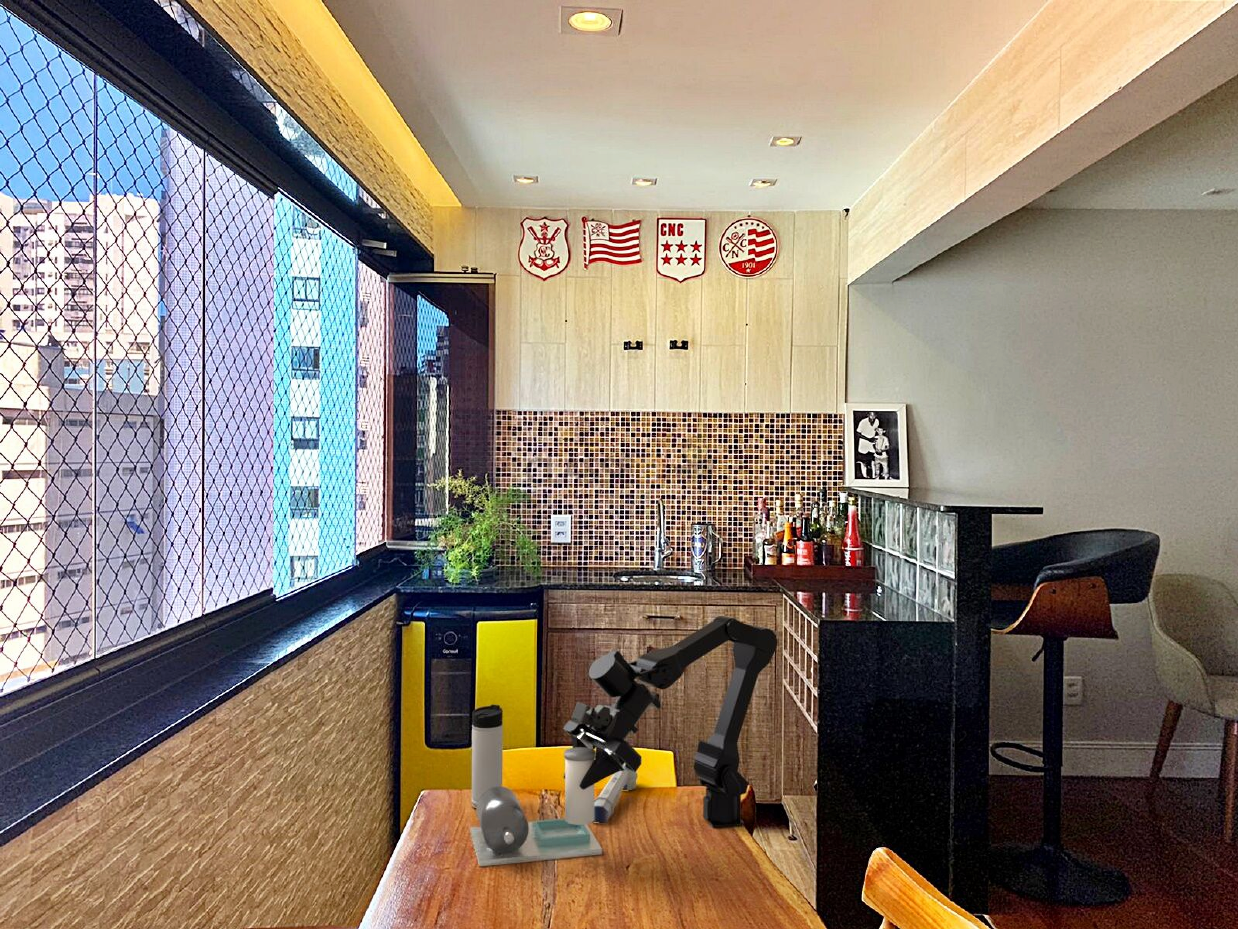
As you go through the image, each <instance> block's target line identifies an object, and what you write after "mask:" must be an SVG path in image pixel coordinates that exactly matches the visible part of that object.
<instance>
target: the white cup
mask: <svg viewBox="0 0 1238 929" xmlns="http://www.w3.org/2000/svg"><path fill="white" fill-rule="evenodd" d="M563 754H564V755H563V757H564V761H565V763H564V765H565V766H564V767H565V768H564V769H565V771H564V774H565V779H564V780H565V781H564V784H565V786H564V787H565V788H564V790H565V791H564V793H565V794H564V803H565V804H564V810H565V811H564V818H565V821H566V822H567V823H570V824H574V825H585V824H587V825H589V824H591V823H593V821H594V800H595V784H593V785H592V786H590V787H588V788H586V789H584V790H583V789H581V788H580V786H579V785H580V783H581V781H582V779H583V778H584V776H585V774H586V773H587V771H588V770H589V768H590V766H591V765H592V763H593V762H594V760H595V759H594V758H595V757H596V749H591V748H584V747H577V748H573V747H572V748H571V747H570V748H568V749H566V750H564V752H563Z"/></svg>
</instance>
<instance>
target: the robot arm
mask: <svg viewBox="0 0 1238 929" xmlns="http://www.w3.org/2000/svg"><path fill="white" fill-rule="evenodd" d="M726 642H731V643H733V646H732V654H733V660H734V668H733V671H732V674H731V677H730V680H729V683H728V687H727V691H726V693H725V696H724V699H723V701H722V702H723V703H722V706H721V709H720V711H719V715H718V718H717V722H716V725H715V727H714V732H713V733H712V735H711V736H710V737H709V738H708V739H707V740H706V741H705V740H703V739H701V740H699V742H698V745H697V750H696V753H695V755H694V756H693V759H692V760H693V761H694V764H693V771H694V773H695V775H696V777H697V778H698V779H699V783H700V786H701V787H704V788H705V796H703V804H702V807H703V808H702V810H703V812H702V813H703V814H702V817H703V819H704V820H705V821H706V820H707V821H708V822H709V823H710V824H711V825H712V826H713V827H712V826H711V825H710V824H709V823H708V822H707V823H708V824H709V825H710V826H711V827H712V828H724V827H735V826H744V825H745V821H744V820H742V815H741V814H742V813H741V812H742V808H741V806H742V805H741V802H742V795H745V794H747V790H748V786H749V782H748V781H747V779H746V778H745V777H744V776H743V775H741V773H740V772H739V765H740V759H741V758H740V754H739V747H738V742H739V738H740V735H741V731H742V728H743V726H744V722H745V718H746V716H747V712H748V709H749V706H750V702H751V699H752V696H753V693H754V689H755V687H756V684H757V680H758V677H759V674H760V673H761V672H762V671H763V670H764V669H765V667H767V666H768V665H769V664H770V663H771V661H772V659H773V656H774V655H775V652H776V650H777V647H778V638H777V636H776V633H775V632H774V631H773V630H772V628H771V629H770V628H767V627H763V626H758V625H753V624H747V623H744V622H742V621H740V620H738V619H736V618H733V617H729V616H724V615H719V616H717V617H715V618H714V619H713V621H711V622H709V623H707V624H706V625H705V626H703V627H701V628H699V629H698V630H696V631H694V632H692V634H690V635H688V636H686V637H685V638H683V639H682V640H680V641H677V642H676V643H675V644H674V645H671V646H669V647H663V648H662V647H661V648H657V649H654V650H652V651H649V652H646V653H643V654H642V655H641V656H639V657H638V658H637V660H634V661H631V662H628V661H627V660H626V659H625V658H624V656H623V655H622V654H621V652H620V651H618V650H615V649H611V650H610V651H609V652H608V653H606V654H604V655H602V656H600V657H599V658H598V659H596V660H594V661H593V663H592V664H591V665H590V668H589V670H588V675H589V677H590V678H591V679H592V681H593V682H594V683H595V684H596V685H597V686H598V687H599V688H600V689H601V690H602V691H603V692H604V693H605V695H607V696H608V697H609V698H615V699H614V701H613V702H612V703H611V705H608V704H604V705H602V704H598V705H596V707H595V708H594V706H593V707H592V706H590V705H587V704H585V703H581V702H580V701H577V702H576V704H575V706H574V707H575V708H574V710H573V713H572V715H571V717H570V718H571V719H569V720H568V721H567V722H566V724H565V725H564V726H563V728H562V729H563V730H564V731H565V733H567V734H568V736H569V738H570V739H571V744H572V748H577V747H584V748H591V749H593V750H595V751H596V757H595V758H594V762H593V763H592V765H591V766H590V768H589V770H588V771H587V773H586V774H585V776H584V778H583V779H582V781H581V783H580V785H579V786H580V788H581V789H583V790H584V789H586V788H588V787H590V786H592V785H593V784H594V785H595V784H597V783H598V782H600V781H603V780H604V779H606V778H607V777H611V776H613V774H615V773H617V772H619V771H624V768H623V767H622V766H623V764H624V763H625V767H626V768H627V769H629V770H631V771H633V772H637V771H638V769H639V768H640V767H641V766H642V755H640V754H639V752H638V751H636V750H635V748H633V746H632V745H631V744H630V743H629V742H628V741H626V738H628V736H629V735H630V734H631V733H632V734H634V735H635V734H637V732H638V730H639V729H638V728H637V726H636V725H637V724H638V722H639V721H640V720H641V718H642V717H643V715H644V714H645V712H646V711H647V710H648V708H649V707H652V708H655V709H658V710H660V709H661V707H662V705H661V700H660V693H658V692H655V691H651V690H650V689H649V688H648V687H647V686H650V687H653V688H655V689H659V690H667V689H668V688H670V687H672V686H673V685H674V684H675V683H676V682H677V681H679V679H681V677H682V676H683V674H684V672H685V670H686V668H687V667H689V666H690V665H691V664H693V663H695V662H697V661H698V660H699V659H701V658H703V657H704V656H706V655H708V654H709V653H710V652H712V651H714V650H715V649H717V648H718V647H720V646H721V645H724V643H726ZM636 680H638V682H640V683H638V682H637V681H636ZM563 779H564V780H565V773H564V774H563Z"/></svg>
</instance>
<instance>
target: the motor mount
mask: <svg viewBox="0 0 1238 929" xmlns="http://www.w3.org/2000/svg"><path fill="white" fill-rule="evenodd" d="M475 810H476V811H475V812H476V816H477V819H478V823H479V826H470V827H469V834H470V833H471V835H470V838H471V837H472V839H471V842H472V841H473V843H472V846H473V845H474V846H473V850H474V849H475V850H474V853H475V852H476V854H475V857H476V856H477V857H476V860H478V861H477V863H478V864H479V865H478V867H479V866H480V867H488V866H498V865H508V864H519V863H528V862H529V863H531V862H541V861H548V860H549V861H550V860H558V859H568V858H580V857H590V856H599V855H600V856H601V855H602V854H603V848H602V847H601V845H600V843H599V841H598V839H597V838H596V837H595V835H594V834H593V831H592V830H591V828H590V827H589V824H585V825H574V824H570V823H567V822H566V821H565V817H564V818H563V817H562V818H552V819H540V820H532V821H528V820H527V817H526V815H525V813H524V810H523V809H522V806H521V804H520V802H519V799H518V797H517V795H516V793H515V792H514V791H513V790H511V789H510V788H507V787H506V786H502V787H493V788H490V789H488V790H487V791H485V792H484V793H483V794H482V795H481V797H480V798H479V800H478V803H477V808H476V809H475Z"/></svg>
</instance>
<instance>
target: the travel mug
mask: <svg viewBox="0 0 1238 929" xmlns="http://www.w3.org/2000/svg"><path fill="white" fill-rule="evenodd" d="M503 711H504V710H503V708H502V707H501V706H500V705H499V704H490V705H485V706H480V707H478V708H475V709H474V710H473V711H472V714H471V715H472V718H471V721H472V722H471V723H472V725H471V727H472V728H471V729H472V730H471V805H472V804H473V805H474V806H475V807H477V803H478V800H479V798H480V797H481V795H482V794H483V793H484V792H485V791H487V790H488V789H490V788H493V787H503V762H504V761H503V754H504V751H503V748H504V747H503V746H504V745H503V744H504V742H503V740H504V738H503V736H504V735H503V734H504V732H503V731H504V729H503V728H504V727H503V726H504V723H503V718H504V717H503V713H504V712H503Z"/></svg>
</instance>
